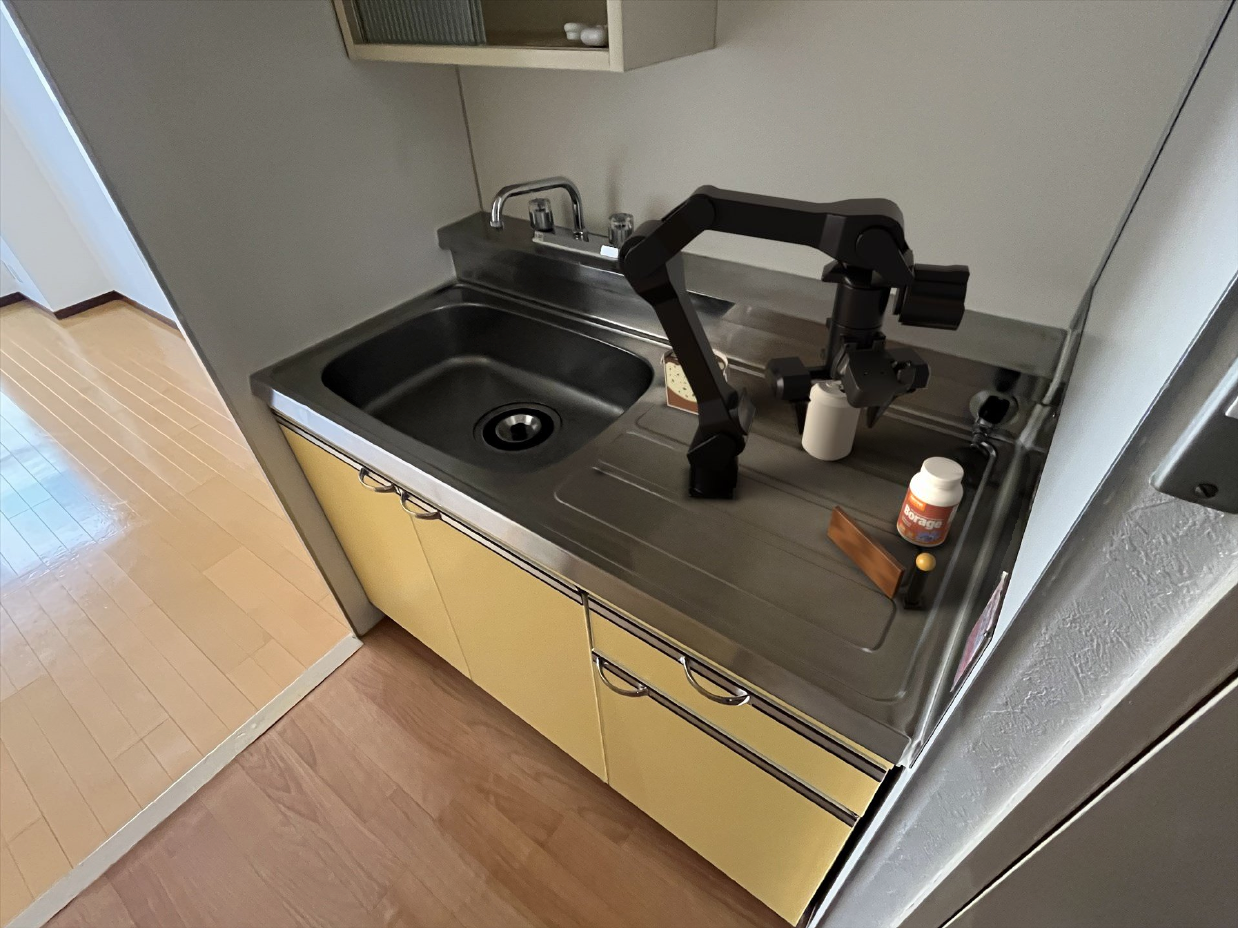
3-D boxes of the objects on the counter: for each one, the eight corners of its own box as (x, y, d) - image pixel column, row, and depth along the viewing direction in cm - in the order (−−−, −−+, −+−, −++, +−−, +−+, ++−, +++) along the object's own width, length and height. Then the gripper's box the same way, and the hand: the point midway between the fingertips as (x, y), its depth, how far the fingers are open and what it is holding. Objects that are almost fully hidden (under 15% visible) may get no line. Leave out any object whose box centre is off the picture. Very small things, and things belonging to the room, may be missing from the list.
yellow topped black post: (903, 609, 76) (921, 561, 71) (899, 596, 78) (916, 548, 73) (921, 610, 76) (940, 562, 71) (917, 597, 78) (935, 549, 73)
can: (852, 466, 98) (868, 399, 90) (801, 461, 99) (813, 395, 92) (848, 437, 104) (863, 372, 96) (800, 433, 105) (811, 369, 97)
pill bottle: (888, 534, 86) (908, 470, 79) (906, 510, 90) (926, 446, 83) (935, 555, 83) (960, 490, 76) (952, 529, 86) (977, 465, 80)
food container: (738, 405, 112) (743, 354, 106) (723, 422, 108) (727, 370, 102) (676, 387, 118) (677, 337, 111) (660, 403, 114) (660, 352, 107)
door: (827, 534, 86) (833, 507, 83) (836, 531, 86) (843, 503, 83) (891, 599, 77) (900, 571, 74) (901, 595, 77) (911, 566, 74)
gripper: (800, 359, 67) (782, 475, 76) (973, 344, 68) (933, 461, 78) (769, 313, 76) (757, 423, 85) (922, 301, 77) (893, 410, 86)
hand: (834, 429), depth 83 cm, fingers open, 9 cm apart
